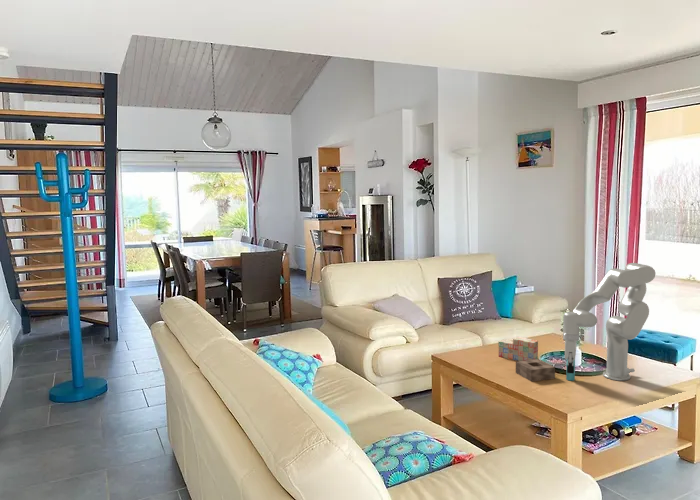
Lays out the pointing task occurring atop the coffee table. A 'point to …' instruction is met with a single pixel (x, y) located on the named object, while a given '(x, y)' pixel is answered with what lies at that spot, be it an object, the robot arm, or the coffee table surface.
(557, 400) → the coffee table surface
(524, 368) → the socket block
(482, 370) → the coffee table surface
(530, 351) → the stack of blocks
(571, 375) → the peg
